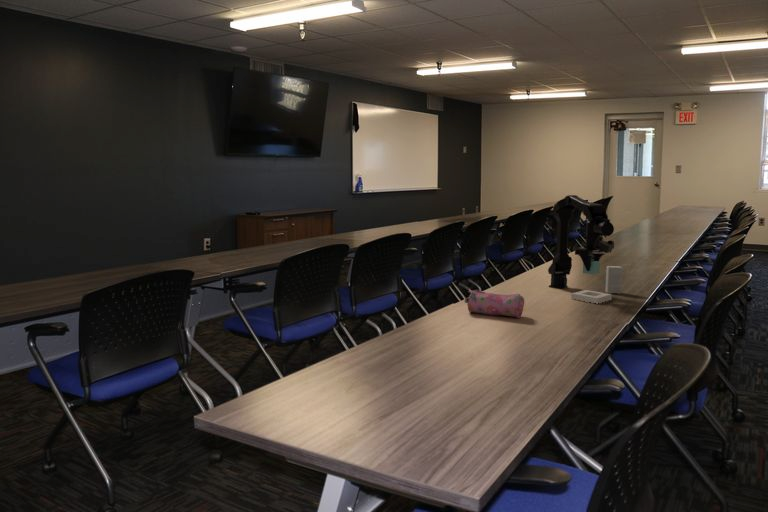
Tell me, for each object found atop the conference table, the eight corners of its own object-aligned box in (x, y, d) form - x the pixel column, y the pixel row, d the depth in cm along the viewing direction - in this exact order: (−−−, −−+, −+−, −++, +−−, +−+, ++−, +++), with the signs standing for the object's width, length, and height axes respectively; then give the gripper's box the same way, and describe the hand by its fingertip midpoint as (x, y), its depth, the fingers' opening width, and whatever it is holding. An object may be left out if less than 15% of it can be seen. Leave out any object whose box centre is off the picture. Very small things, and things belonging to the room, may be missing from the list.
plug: (582, 273, 259) (583, 259, 259) (588, 271, 263) (589, 258, 262) (593, 274, 256) (594, 260, 255) (599, 273, 259) (600, 259, 258)
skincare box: (618, 292, 276) (620, 266, 275) (621, 294, 272) (622, 267, 270) (604, 291, 277) (606, 265, 275) (607, 293, 273) (608, 267, 271)
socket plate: (571, 299, 260) (571, 293, 260) (585, 295, 268) (585, 289, 268) (597, 304, 251) (597, 298, 251) (611, 300, 259) (611, 294, 259)
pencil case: (463, 314, 232) (464, 291, 231) (471, 309, 241) (472, 287, 239) (519, 321, 223) (520, 297, 222) (525, 315, 231) (526, 292, 230)
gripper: (600, 236, 245) (598, 274, 247) (621, 234, 257) (619, 270, 259) (575, 234, 253) (573, 271, 255) (597, 232, 265) (595, 267, 267)
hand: (591, 270), depth 259 cm, fingers closed on plug, 5 cm apart
